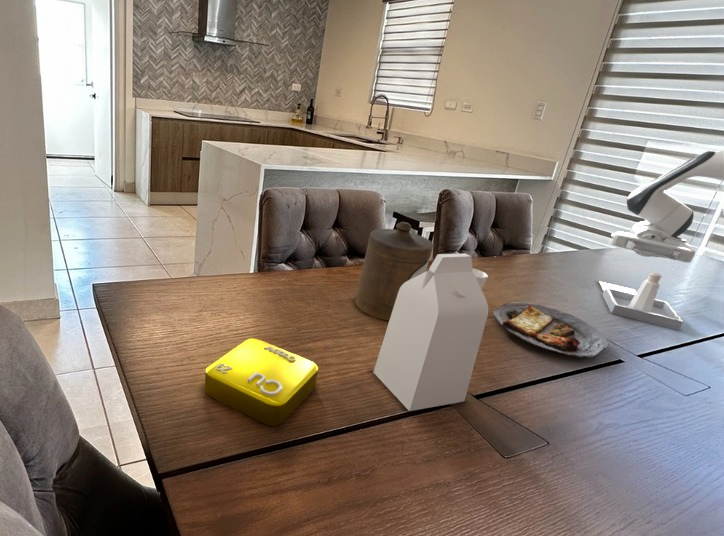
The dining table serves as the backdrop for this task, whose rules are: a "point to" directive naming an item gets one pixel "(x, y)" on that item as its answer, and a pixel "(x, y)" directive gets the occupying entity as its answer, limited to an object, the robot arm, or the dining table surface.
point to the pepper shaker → (646, 293)
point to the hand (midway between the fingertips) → (654, 252)
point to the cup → (480, 277)
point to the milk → (434, 335)
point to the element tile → (261, 381)
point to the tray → (658, 314)
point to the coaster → (616, 287)
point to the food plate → (550, 329)
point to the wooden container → (390, 267)
